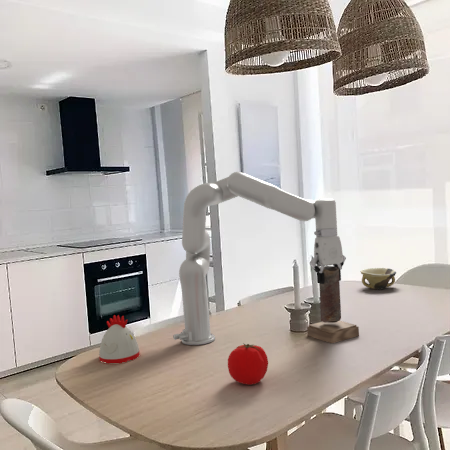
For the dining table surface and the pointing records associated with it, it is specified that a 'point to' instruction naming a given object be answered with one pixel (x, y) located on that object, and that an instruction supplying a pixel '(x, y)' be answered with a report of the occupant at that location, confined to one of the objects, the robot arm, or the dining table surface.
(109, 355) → the kitchen timer
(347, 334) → the plinth
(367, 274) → the bowl
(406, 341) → the dining table surface
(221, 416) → the dining table surface
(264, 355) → the tomato
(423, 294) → the dining table surface
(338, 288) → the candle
